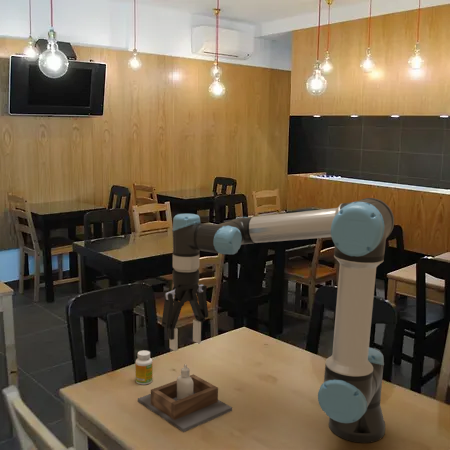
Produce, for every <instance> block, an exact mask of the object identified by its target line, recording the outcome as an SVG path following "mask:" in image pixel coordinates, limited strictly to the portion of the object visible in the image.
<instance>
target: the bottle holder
mask: <svg viewBox="0 0 450 450" xmlns="http://www.w3.org/2000/svg"><path fill="white" fill-rule="evenodd" d="M189 376H190V377H191V378H192V380H193V395H190V396H187V397H185V398H182V399H180V400H177V379H176V380H173V381H172V382H169V383H166V384H163V385H160V386H157V387H154V388H152V389H150V393H149V394H147V395H144V396H140V397H139V398H137V402H138V403H139V404H141V405H142V406H144V407H145V408H146V409H148V410H149V411H151V412H152V413H154V414H155V415H157V416H158V417H160V418H162V419H163V420H164V421H166V422H167V423H169V424H170V425H171V426H173V427H174V428H176V429H178V430H179V431H181V432H182V433H185V432H188V431H189V430H192V429H194V428H196V427H198V426H201V425H203V424H206V423H207V422H210V421H212V420H214V419H216V418H219V417H222V416H224V415H226V414H229V413H230V412H232V411H233V407H232V406H230V405H229V404H226V402H223V401H222V400H220V399H219V386H216V385H214V384H212V383H210V382H209V381H207V380H205V379H203V378H201V377H199V376H197V375H195V374H194V373H193V374H189Z"/></svg>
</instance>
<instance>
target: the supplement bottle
mask: <svg viewBox="0 0 450 450" xmlns="http://www.w3.org/2000/svg"><path fill="white" fill-rule="evenodd" d="M135 382H136V384H138V385H149V384H151V383H152V382H153V359H152V358H151V351H150V350H139V351H138V352H137V358H136V359H135Z"/></svg>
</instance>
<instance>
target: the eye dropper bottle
mask: <svg viewBox="0 0 450 450" xmlns="http://www.w3.org/2000/svg"><path fill="white" fill-rule="evenodd" d="M190 369H191V368H189V367H188V365H187V364H186V363H185V364H184V365H183V367H182V368H181V369H180V370H181V371H180V375H178V376H177V378H176V380H177V400H180V399H182V398H185V397H187V396H190V395H193V380H192V378H191V377H190V371H191V370H190Z"/></svg>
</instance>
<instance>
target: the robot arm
mask: <svg viewBox="0 0 450 450" xmlns="http://www.w3.org/2000/svg"><path fill="white" fill-rule="evenodd" d="M172 220H173V221H172V230H171V231H172V269H173V270H172V283H173V287H172V290H170V291H168V292H167V291H164V292H163V297H164V301H163V302H164V304H163V311H162V318H161V326H162V327H164V328H166V329H167V338H168V340H169V349H171V350H172V351H175V352H177V351H178V343H179V342H178V340H179V339H178V336H179V335H178V331H179V330H178V328H177V327H176V326H177V323H178V321H179V316H180V313H181V310H182V309H183V307H184V306H185V303H186V302H189V304H190V307H191V310H192V313H193V315H194V318H195V319H193V320H192V342H194V343H197V344H201V341H202V331H203V324H204V322H205V321H206V318H208V317H209V310H208V308H209V307H208V302H207V288H208V287H207V285H205V284H202V283H199V282H200V269H199V268H200V251H201V252H209V253H215V254H216V253H217V254H221V255H235V254H237V253H238V251H239V250H240V248H241V246H242V245H248V244H249V245H251V244H258V243H259V244H260V243H261V244H262V243H272V242H284V241H297V240H309V239H311V240H312V239H321V238H322V239H323V238H324V239H325V238H331V240H332V242H333V244H334V251H333V257H334V259H335V260H336V261H338V263H339V268H338V269H339V271H338V280H337V291H336V292H337V293H336V306H335V320H334V331H333V343H332V355H331V356H329V357H327V358H326V360H325V362H324V363H325V366H324V374H323V375H324V376H323V377H324V378H323V383H321V385H320V387H319V389H318V393H317V401H318V405H319V407H320V409H321V410H322V411H323V412H324V413H325V415H326V416H327V417H329V418H328V427H329V429H330V431H331V432H332V433H333V434H335V435H336V436H338V437H340V438H341V439H344V440H346V441H349V442H354V443H362V444H364V443H367V444H368V443H373V442H378V441H379V440H381V439H382V438H383V437H384V436H385V433H386V422H385V419H384V415H383V410H382V407H381V399H382V385H383V373H384V365H385V362H384V361H385V360H384V355H383V353H382V352H381V351H380V350H378V349H375V348H373V347H370V341H371V340H370V337H371V330H372V329H371V327H372V318H373V310H374V309H373V308H374V297H375V285H376V274H377V268H378V266H380V264H382V263H383V262H385V261H384V259H385V251H386V242H387V241H386V240H387V238H389V236H390V235H391V234H392V233H393V232H392V231H393V229H394V226H395V216H394V213H393V210H392V209H391V207H390V206H389V205H388V204H387V203H386V202H384V201H383V200H381V199H378V198H374V197H366V198H362V199H359V200H355V201H352V202H344V203H340V204H339V205H338V207H333V208H325V209H324V208H323V209H315V210H305V211H297V212H287V213H278V214H277V213H276V214H269V215H260V216H258V215H257V216H253V217H251V216H250V217H248V216H241V217H236V218H234V219H233V220H229V221H226V222H222V223H219V224H210V223H202V222H201V217H200V216H199V214H195V213H177V214H176V215H175V216H174V217H173V219H172ZM380 438H381V439H380Z"/></svg>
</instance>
